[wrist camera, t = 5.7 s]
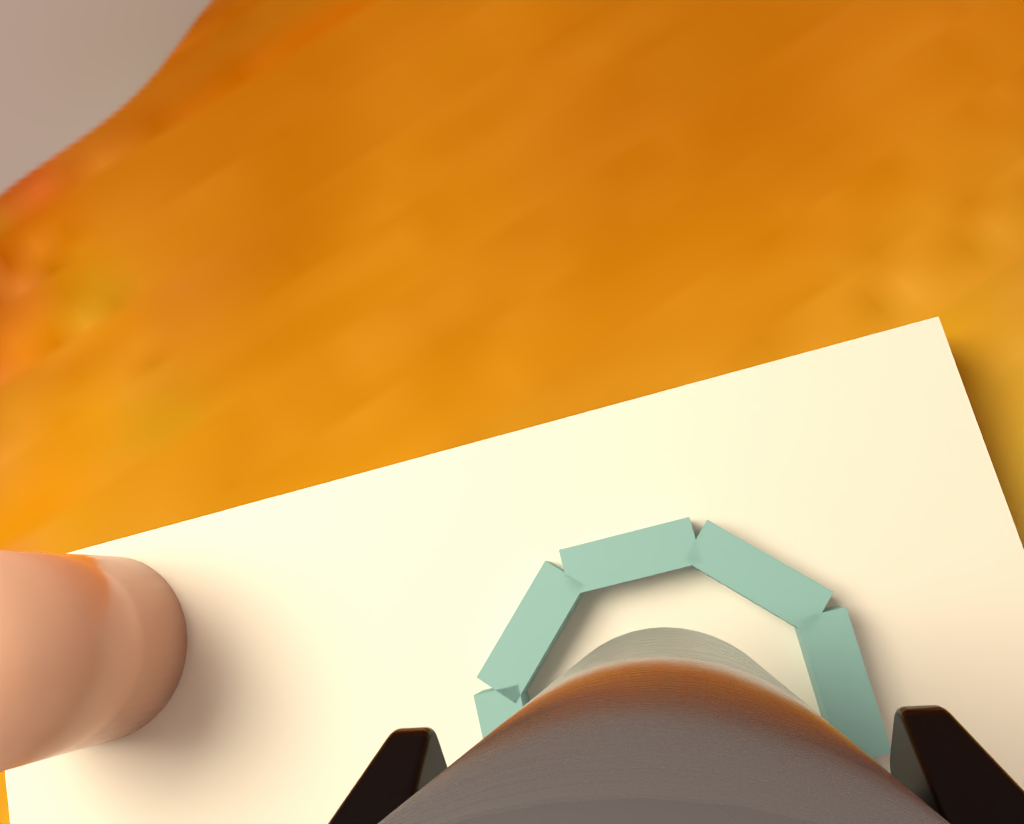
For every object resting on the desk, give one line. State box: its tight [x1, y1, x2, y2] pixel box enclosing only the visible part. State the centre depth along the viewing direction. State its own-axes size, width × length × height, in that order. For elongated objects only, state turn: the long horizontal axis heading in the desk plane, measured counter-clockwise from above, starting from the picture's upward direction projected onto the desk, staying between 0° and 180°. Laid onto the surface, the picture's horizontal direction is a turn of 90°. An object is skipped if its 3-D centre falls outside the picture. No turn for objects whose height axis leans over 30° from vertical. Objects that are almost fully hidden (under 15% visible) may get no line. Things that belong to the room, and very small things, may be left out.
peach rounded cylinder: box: [0, 550, 187, 772], centre depth 20 cm, size 4×4×5 cm
